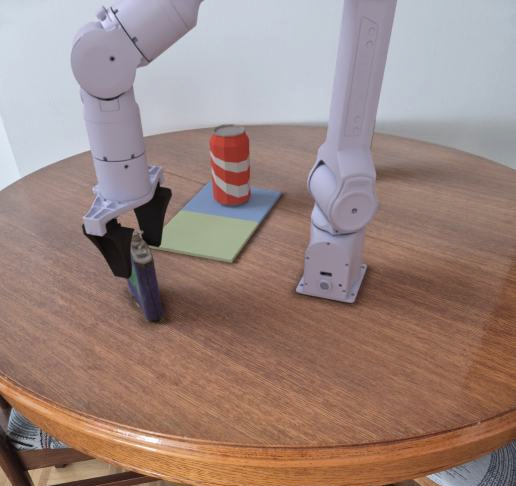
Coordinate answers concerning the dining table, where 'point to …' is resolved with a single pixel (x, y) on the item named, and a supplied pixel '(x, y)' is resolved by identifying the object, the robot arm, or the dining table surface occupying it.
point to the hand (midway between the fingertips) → (138, 259)
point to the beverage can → (230, 164)
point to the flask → (144, 280)
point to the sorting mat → (216, 225)
